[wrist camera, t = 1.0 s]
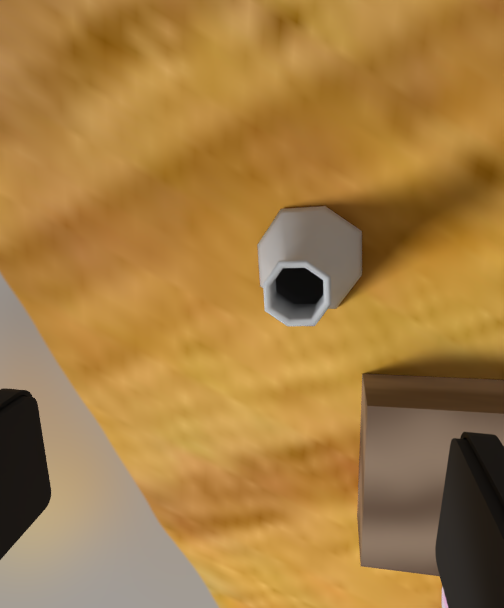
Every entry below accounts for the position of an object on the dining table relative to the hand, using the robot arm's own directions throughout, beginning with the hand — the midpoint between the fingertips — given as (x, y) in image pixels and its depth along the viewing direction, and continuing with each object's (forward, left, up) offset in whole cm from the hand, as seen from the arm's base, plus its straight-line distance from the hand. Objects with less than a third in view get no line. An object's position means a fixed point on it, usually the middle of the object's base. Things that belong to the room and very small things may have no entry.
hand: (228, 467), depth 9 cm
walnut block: (+13, +11, -21) cm, 27 cm away
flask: (-1, +1, -21) cm, 21 cm away
